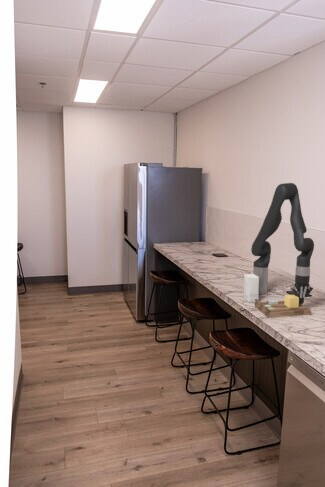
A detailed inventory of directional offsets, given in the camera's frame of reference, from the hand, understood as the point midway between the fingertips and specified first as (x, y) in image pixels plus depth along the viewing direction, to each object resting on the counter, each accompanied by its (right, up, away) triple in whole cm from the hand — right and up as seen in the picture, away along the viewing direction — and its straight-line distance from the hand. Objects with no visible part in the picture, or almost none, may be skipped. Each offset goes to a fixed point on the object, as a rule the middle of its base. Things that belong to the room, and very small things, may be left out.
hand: (300, 303), depth 211 cm
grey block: (-15, -3, +4) cm, 15 cm away
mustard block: (-6, -1, -1) cm, 6 cm away
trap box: (-11, -4, -1) cm, 11 cm away
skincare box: (-25, -1, +16) cm, 29 cm away
